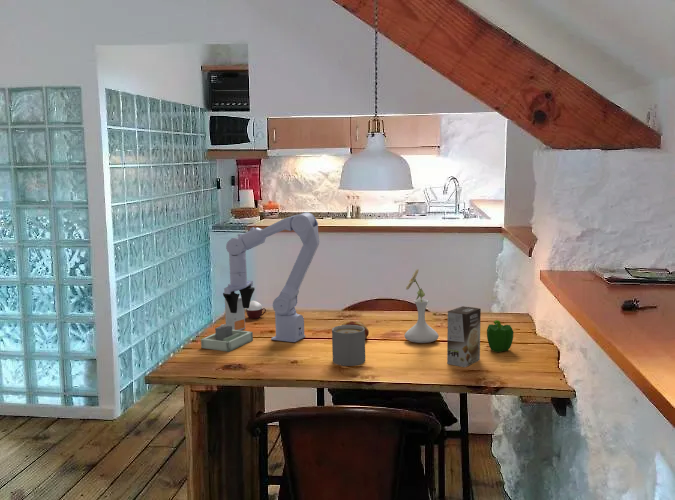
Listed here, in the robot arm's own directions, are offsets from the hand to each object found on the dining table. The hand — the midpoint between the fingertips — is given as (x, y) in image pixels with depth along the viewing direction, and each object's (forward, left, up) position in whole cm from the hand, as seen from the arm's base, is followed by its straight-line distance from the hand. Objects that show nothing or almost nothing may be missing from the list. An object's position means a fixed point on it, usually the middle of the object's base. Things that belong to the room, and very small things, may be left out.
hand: (239, 310), depth 229 cm
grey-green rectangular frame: (-1, +10, -9) cm, 13 cm away
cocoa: (+11, -25, -10) cm, 29 cm away
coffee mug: (-46, +9, -10) cm, 48 cm away
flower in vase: (-60, -17, -10) cm, 63 cm away
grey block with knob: (0, +10, -9) cm, 13 cm away
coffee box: (-79, -1, -10) cm, 80 cm away
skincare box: (+7, -7, -10) cm, 14 cm away
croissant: (-38, -12, -10) cm, 41 cm away
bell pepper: (-86, -17, -10) cm, 88 cm away
